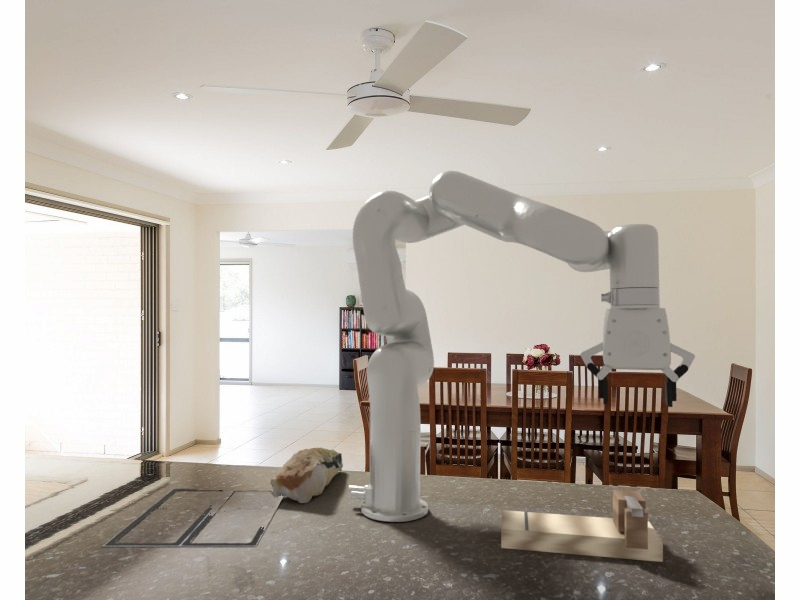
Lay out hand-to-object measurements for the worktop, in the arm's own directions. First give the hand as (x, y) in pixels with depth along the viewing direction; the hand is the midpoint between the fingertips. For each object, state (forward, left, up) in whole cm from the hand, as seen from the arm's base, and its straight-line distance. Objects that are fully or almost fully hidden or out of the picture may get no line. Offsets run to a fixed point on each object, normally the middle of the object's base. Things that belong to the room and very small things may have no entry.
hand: (636, 404), depth 93 cm
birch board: (-10, -2, -23) cm, 25 cm away
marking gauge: (-2, -4, -20) cm, 21 cm away
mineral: (-61, +19, -23) cm, 68 cm away
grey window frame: (-75, -2, -23) cm, 78 cm away
